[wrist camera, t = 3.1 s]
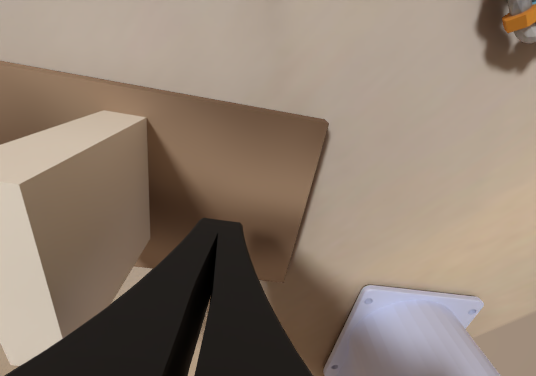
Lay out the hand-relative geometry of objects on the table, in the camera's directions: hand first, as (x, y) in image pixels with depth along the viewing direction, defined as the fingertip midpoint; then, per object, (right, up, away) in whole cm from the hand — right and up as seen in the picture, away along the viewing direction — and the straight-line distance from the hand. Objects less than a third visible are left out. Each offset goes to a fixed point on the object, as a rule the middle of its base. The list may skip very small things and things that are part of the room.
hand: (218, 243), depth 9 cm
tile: (-4, +2, +3) cm, 6 cm away
